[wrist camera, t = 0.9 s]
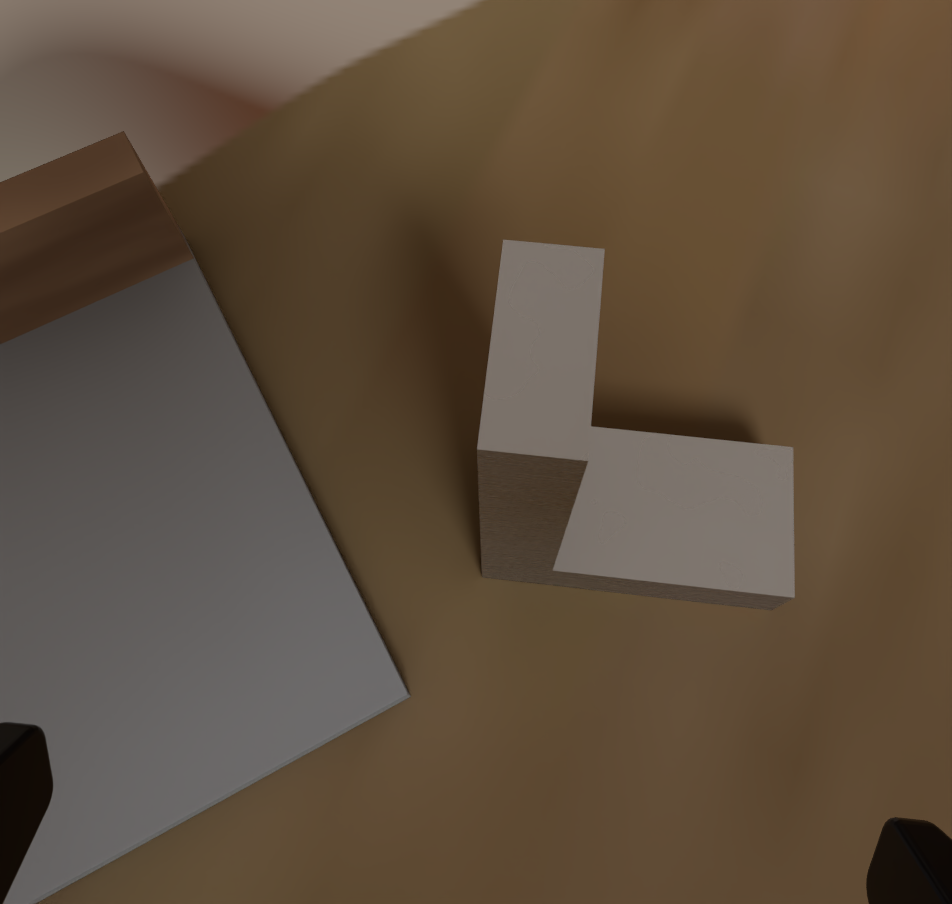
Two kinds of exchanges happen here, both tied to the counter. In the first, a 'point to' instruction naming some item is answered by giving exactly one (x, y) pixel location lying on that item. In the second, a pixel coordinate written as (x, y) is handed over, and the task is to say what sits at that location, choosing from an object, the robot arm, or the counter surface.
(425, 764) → the counter surface
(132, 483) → the mat
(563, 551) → the bracket
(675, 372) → the counter surface
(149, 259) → the walls
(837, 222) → the counter surface
